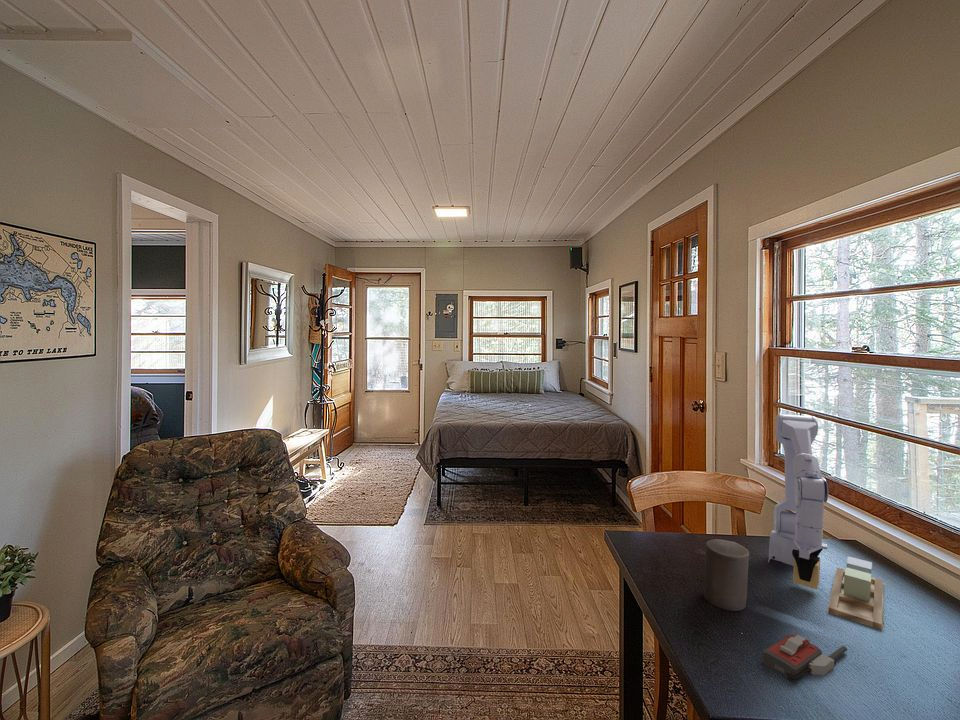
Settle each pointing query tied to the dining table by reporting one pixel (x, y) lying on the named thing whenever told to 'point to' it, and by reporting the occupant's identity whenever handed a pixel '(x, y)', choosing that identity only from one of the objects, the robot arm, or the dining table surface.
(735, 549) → the pillar candle
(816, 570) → the ochre block
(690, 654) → the dining table surface
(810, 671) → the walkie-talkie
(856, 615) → the slot board
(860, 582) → the sage block
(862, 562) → the blue-grey block
